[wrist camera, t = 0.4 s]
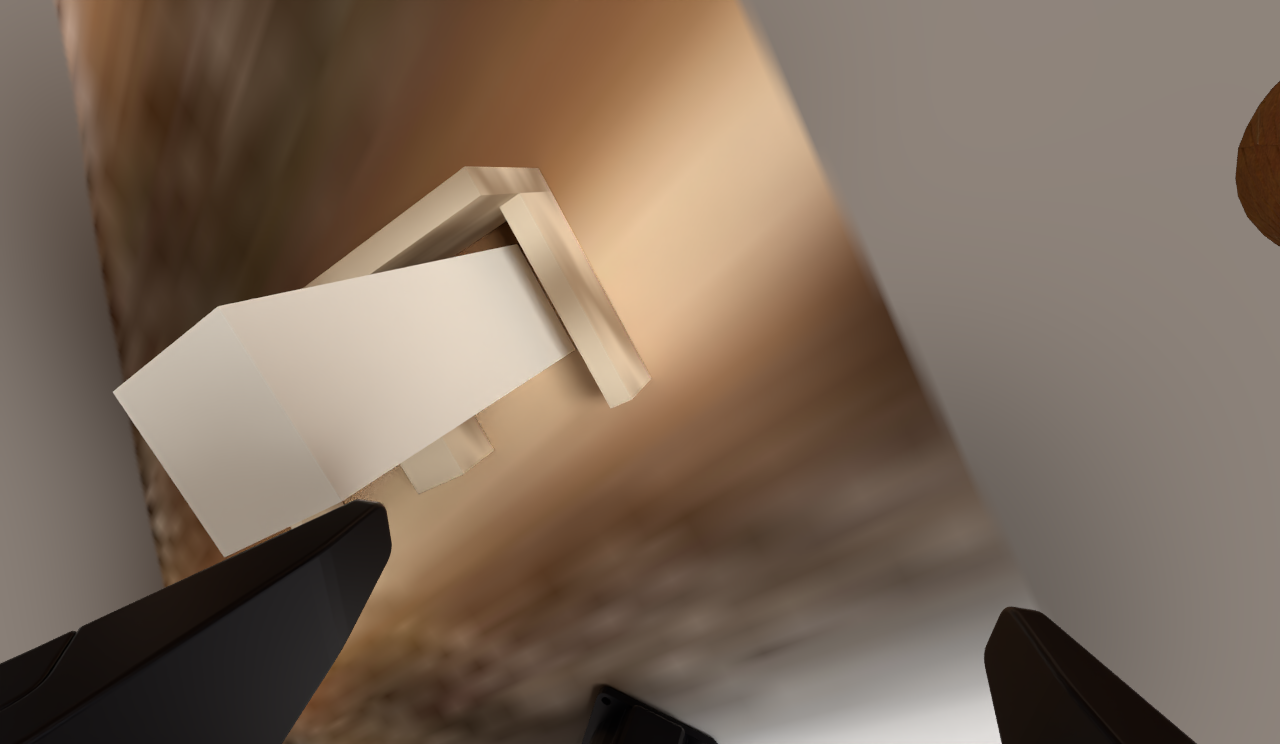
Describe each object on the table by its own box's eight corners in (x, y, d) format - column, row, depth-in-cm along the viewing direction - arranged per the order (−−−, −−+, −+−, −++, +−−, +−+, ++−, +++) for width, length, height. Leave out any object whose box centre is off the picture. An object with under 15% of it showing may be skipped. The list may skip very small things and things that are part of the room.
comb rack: (651, 378, 24) (608, 424, 20) (339, 520, 33) (260, 575, 29) (538, 168, 23) (465, 166, 19) (245, 372, 32) (146, 405, 27)
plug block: (575, 349, 25) (342, 501, 13) (491, 392, 27) (224, 557, 15) (517, 243, 24) (218, 306, 13) (435, 296, 27) (112, 391, 15)
